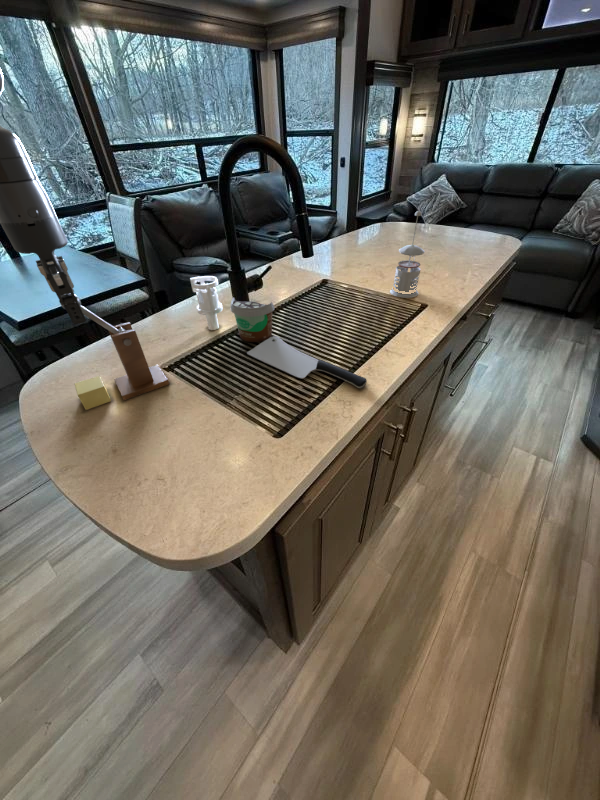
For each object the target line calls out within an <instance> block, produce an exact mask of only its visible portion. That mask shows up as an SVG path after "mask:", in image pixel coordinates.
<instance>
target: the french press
mask: <svg viewBox="0 0 600 800" xmlns="http://www.w3.org/2000/svg"><path fill="white" fill-rule="evenodd" d="M414 216H415V217H416V221H415V227H414V232H413V239H412V243H411V244H407V245H404V246H402V247H401V248H399V249H398V252H399V254H401V255H404V256H409V258H408V259H405V260H400V261H398V262H397V265H398V266H396V267H395V274H394V278H393V279H394V280H393V285H392V288H391V289H392V290H391V289H390V290H389V294H390V295H392V296H394V297H398V298H405V299H411V298H415V297H417V296H419V291H418V290H416V289H418V284H419V279H420V274H421V267H420V266H421V263H420V262H419V261H415V260H416V256H422V255H424V254H425V252H426V251H425V249H424V248H422V247H420V246H418V245H417V244H416V245H415V244H414V241H415V236H416V230H417V224H418V219H419V217H421V216H422V211H420V210H416V212H415V213H414ZM411 258H413V260H411ZM395 284H396V285H398V287H396V286H395ZM412 284H413V285H412ZM393 286H394V287H395V288H396V289H398V290H399V291H405V292H409V290H414V289H415V288H416V287H417V288H416V289H415V290H416V292H414V293H411V294H402V293H398V292H395V291H394V290H393ZM410 286H411V287H413V286H416V287H414V288H410Z"/></svg>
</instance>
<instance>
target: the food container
mask: <svg viewBox="0 0 600 800" xmlns="http://www.w3.org/2000/svg"><path fill="white" fill-rule="evenodd" d="M274 311H275V304H274V303H273V301H271V302H269V303H268V304H265V303H259V302H256V301H241V300H236V299H235V297H232V298H231V301H230V312H232V314H233V315H234V318H235V323H236V326H237V329H238V334H239V337H240V339H241V340H243V341H244V342H248V343H260V342H264V341H265V340H267V339H269V338H270V337H272V336H273V312H274Z"/></svg>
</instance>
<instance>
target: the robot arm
mask: <svg viewBox="0 0 600 800" xmlns="http://www.w3.org/2000/svg"><path fill="white" fill-rule="evenodd" d="M4 84H5V83H4V75H3V72H2V69H1V68H0V95H1V94H2V92H3V91H4ZM0 225H1V227H2V229H3V231H4V233H5V235H6V237H7V239H8V240H9V243H10V244H11V245H12V247H13V249H14V251H16V253H20V254H24V255H30V254H35V255H36V256H37V257H38V259H37V260H35V263H36V267H37V268H38V271H39V273H40V274H41V275H42V276H43V277H44V279H45V281H46V282H47V285H48V286H49V288H50V290H51V292H53V293H55V295H56V296H57V298H58V302H59V305H61V304H62V305H64V307H65V309H66V310H65V309H64V310H65V311H66V312H67V315H68V317H69V319H70V321H71V323H72V324H74V325H78V324H83V323H85V322H86V321H87V318H86V316H85V315H84V314H83V312H82V310H81V308H80V306H79V304H78V298H77V297H76V296H77V295H76V294H75V290H74V288H75V285H74V282H73V280H72V278H71V276H70V274H69V272H68V270H69V269H68V265H67V264H66V262H65V260H64V258H63V256H62V255H59V256H58V255H57V254H56V253H55V250H59V249H62V248H65V247H66V246H67V245H68V242H69V240H68V238H67V236H66V234H65V232H64V229H63V227H62V224H61V223H60V220H59V218H58V216H57V213H56V211H55V209H54V207H53V204H52V202H51V201H50V198H49V196H48V193H47V192H46V190H45V189H44V187H43V186H42V184H41V182H40V180H39V178H38V176H37V173H36V171H35V169H34V167H33V164H32V162H31V159H30V157H29V155H28V153H27V151H26V149H25V147H24V145H23V143H22V142H21V139H20V138H19V137H18V136H17V135H16V134H15V133H14V132H12V130H9V129H7V128H5V127H3V126H2V125H1V124H0ZM65 293H71V295H70V296H65V297H62V295H63V294H65ZM75 295H76V296H75Z"/></svg>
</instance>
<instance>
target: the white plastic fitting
mask: <svg viewBox="0 0 600 800" xmlns="http://www.w3.org/2000/svg"><path fill="white" fill-rule="evenodd" d="M189 280H190V281H189V282H190V284H191V290H192V292H193V293H195V294H196V298H197V303H198V305H196V310H197V311H196V312H197V313H198V314H199V315H201V316H205V319H206V323H207V328H208V330H210V331H216V330H218V329H219V328H220V326H219V325H220V324H219V320H218V315H217V314H219V313H222V312H223V310H224V308H223V304H222V302H220V300H219V295H218V289H217V288H216V287H218V285H219V279H218V277H217V276H213V275H204V276H199V275H198V276H195V277H190V278H189ZM208 281H209V282H210V283H208ZM205 282H207V283H205ZM198 283H199V284H198Z"/></svg>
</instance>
